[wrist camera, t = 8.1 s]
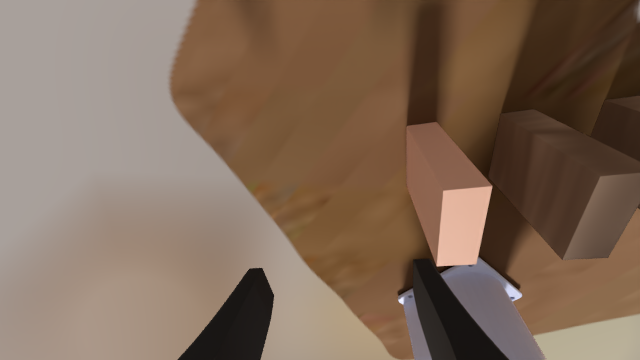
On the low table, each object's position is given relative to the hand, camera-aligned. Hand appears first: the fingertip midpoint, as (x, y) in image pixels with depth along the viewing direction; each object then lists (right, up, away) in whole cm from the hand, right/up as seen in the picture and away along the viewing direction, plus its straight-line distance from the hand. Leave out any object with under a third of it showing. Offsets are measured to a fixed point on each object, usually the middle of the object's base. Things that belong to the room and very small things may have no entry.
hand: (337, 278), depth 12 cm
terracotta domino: (+7, +6, +8) cm, 12 cm away
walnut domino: (+13, +7, +7) cm, 16 cm away
